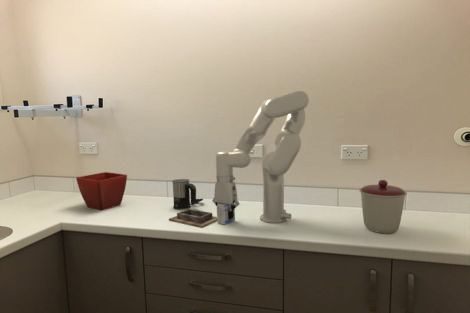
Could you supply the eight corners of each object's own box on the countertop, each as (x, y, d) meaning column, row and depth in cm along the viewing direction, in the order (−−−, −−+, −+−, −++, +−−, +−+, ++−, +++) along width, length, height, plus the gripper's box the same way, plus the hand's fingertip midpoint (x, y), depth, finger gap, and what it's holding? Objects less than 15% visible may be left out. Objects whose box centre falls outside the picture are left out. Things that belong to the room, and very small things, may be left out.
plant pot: (100, 213, 172) (98, 180, 170) (77, 208, 182) (75, 177, 180) (129, 204, 188) (128, 174, 186) (107, 200, 198) (105, 172, 196)
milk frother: (170, 209, 177) (169, 181, 176) (181, 201, 193) (181, 176, 191) (195, 210, 174) (194, 182, 172) (205, 203, 189) (204, 176, 187)
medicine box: (224, 224, 151) (224, 205, 150) (216, 223, 153) (216, 204, 152) (235, 220, 157) (234, 201, 156) (227, 218, 160) (227, 200, 158)
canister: (410, 228, 143) (413, 179, 141) (397, 240, 130) (399, 186, 127) (367, 219, 155) (369, 174, 152) (351, 230, 142) (352, 180, 139)
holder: (220, 219, 159) (220, 212, 158) (201, 227, 147) (201, 220, 147) (188, 213, 170) (188, 206, 169) (168, 220, 158) (168, 213, 158)
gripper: (245, 178, 151) (246, 218, 153) (214, 175, 160) (216, 213, 163) (235, 181, 145) (237, 223, 147) (205, 178, 154) (206, 217, 156)
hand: (226, 217), depth 155 cm, fingers closed on medicine box, 4 cm apart
